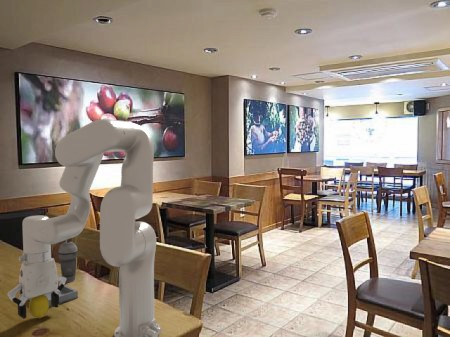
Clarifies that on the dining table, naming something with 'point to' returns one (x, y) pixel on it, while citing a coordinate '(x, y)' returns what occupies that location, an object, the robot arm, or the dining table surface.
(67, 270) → the beverage cup
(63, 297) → the tray
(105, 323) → the dining table surface
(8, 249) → the dining table surface
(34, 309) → the lemon
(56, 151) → the robot arm
